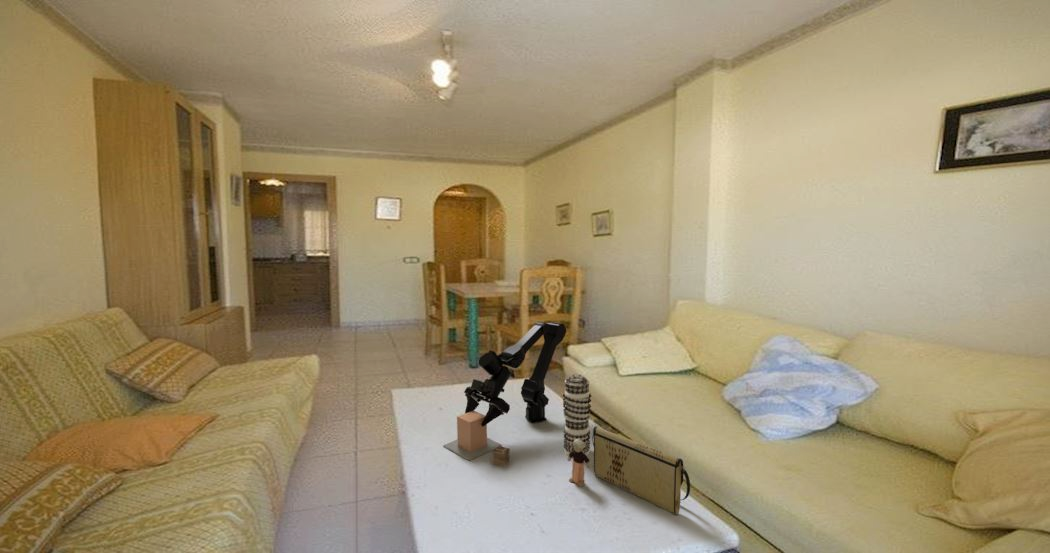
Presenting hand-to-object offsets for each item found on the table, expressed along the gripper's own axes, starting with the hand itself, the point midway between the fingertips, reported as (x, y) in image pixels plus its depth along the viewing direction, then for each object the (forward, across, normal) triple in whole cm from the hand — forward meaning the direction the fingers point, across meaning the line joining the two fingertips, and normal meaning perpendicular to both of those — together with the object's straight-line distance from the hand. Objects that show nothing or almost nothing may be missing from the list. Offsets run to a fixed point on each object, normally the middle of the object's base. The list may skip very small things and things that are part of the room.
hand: (473, 421), depth 148 cm
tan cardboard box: (+6, 0, +5) cm, 8 cm away
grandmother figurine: (+1, +39, +11) cm, 41 cm away
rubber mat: (+6, 0, +5) cm, 8 cm away
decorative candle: (-9, +28, +21) cm, 36 cm away
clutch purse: (-4, +53, +17) cm, 56 cm away
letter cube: (+7, +15, +5) cm, 17 cm away
